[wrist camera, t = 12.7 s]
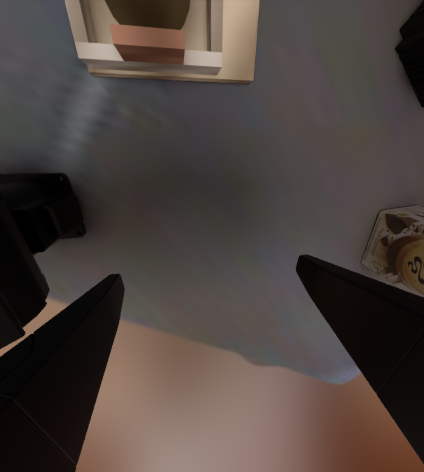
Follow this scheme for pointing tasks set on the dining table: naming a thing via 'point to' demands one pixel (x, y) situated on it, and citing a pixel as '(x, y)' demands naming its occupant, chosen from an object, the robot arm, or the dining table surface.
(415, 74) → the cpu cooler
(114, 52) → the wooden box
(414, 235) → the coffee box
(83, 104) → the dining table surface
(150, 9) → the cork
